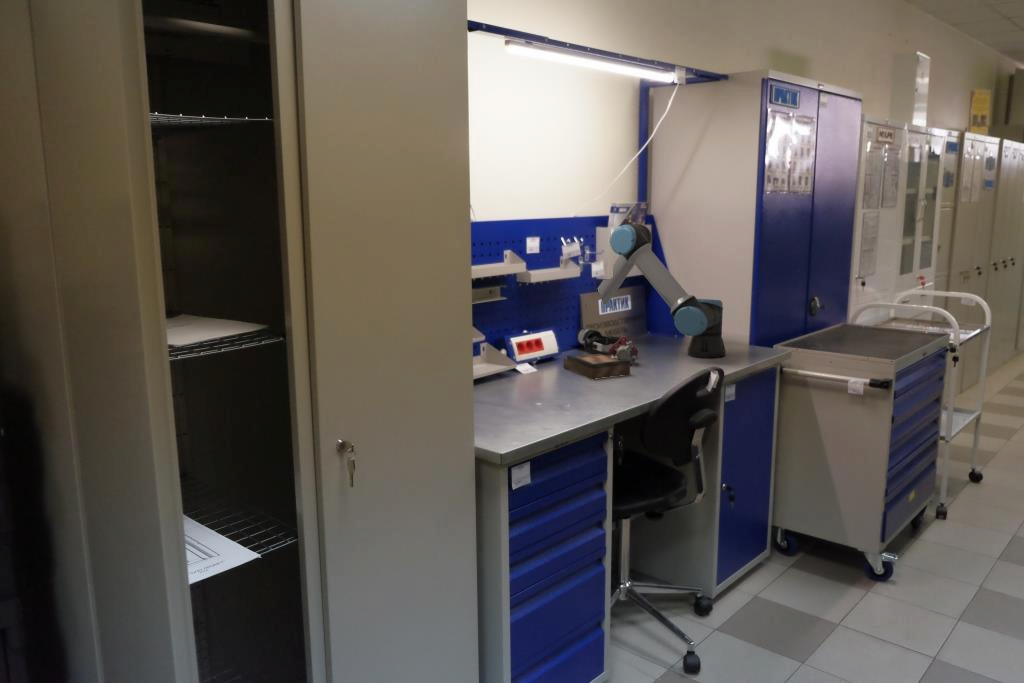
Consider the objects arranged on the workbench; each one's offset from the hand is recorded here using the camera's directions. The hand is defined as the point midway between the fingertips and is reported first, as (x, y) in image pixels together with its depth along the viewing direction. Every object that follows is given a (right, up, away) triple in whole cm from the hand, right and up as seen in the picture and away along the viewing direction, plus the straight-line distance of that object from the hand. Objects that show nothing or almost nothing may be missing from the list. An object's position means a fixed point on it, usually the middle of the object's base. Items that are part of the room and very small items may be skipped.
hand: (616, 346), depth 298 cm
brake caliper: (+2, -7, -4) cm, 9 cm away
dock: (-10, -9, -16) cm, 21 cm away
